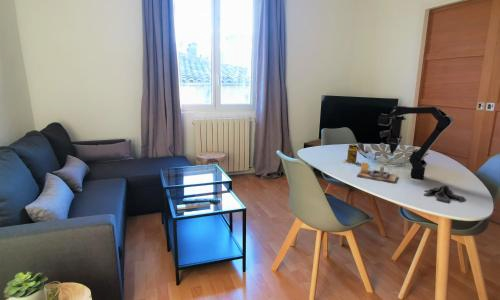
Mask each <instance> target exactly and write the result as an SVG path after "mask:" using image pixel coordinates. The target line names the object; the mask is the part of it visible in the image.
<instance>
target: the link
mask: <svg viewBox="0 0 500 300" xmlns="http://www.w3.org/2000/svg"><path fill="white" fill-rule="evenodd" d="M360 164H361V166H360V171H361V172H362V173H368V174H370V176H374V177H380V178H387V177H388V175H389V174H390V172H387V171H384V174H385V176H384V175H378V174H374V173H379V170H376V169H372V170H371V171H368V170H370V169H369V168H370V163H369V162H365V161H362V162H361V163H360Z"/></svg>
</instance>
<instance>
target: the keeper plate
mask: <svg viewBox="0 0 500 300" xmlns="http://www.w3.org/2000/svg"><path fill="white" fill-rule="evenodd" d="M368 171H372V170H371V169H368ZM378 171H379V173H374V174H378V175H384V176H385V174H384V172H385V167H384V166H383V165H381V166H379V170H378ZM356 177H357V178H363V179H368V180H369V179H370V180H374V181H380V182H385V183H386V182H387V183H391V184H394V183H396V180H397V179H398V174H395V173H389V175H388V177H387V178H380V177H374V176H370V174H368V173H362V172H361V170H359V172H358V173H357V174H356Z"/></svg>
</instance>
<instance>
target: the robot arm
mask: <svg viewBox="0 0 500 300" xmlns="http://www.w3.org/2000/svg"><path fill="white" fill-rule="evenodd" d="M410 114H411V115H412V114H417V115H420V114H430V115H432V117H433V118H434V119H435V120H436V121H437V123H436V125H435V127H434V129H433V131H432V132H431V133H430V135H429V136H428V137H427V139H426V140H425V141H424V143H423V144H422V145H421V146H420V148H418V149H414V150H413V151H412V154H410V155H409V158H408V160H409V162H410V164H411V166H412V167H411V169H410V178H411V179H416V180H417V179H418V180H425V179H424V178H425V173H426V166H427V165H428V162H427V161H426V160H425V158H426V156H427V152H428V151H429V150H430V148H431V147H432V146H433V145H434V143H435V142H436V141H437V140H438V138H439V137H440V136H441V134H442V133H443V132H444V131H445V130H447V129H448V128H449V127H451V125H453V124H454V121H455V120H454V117H453V116H451V115H449V114H447V113H446V112H444V111H443V110H442V109H440V108H439V107H438V106H436V105H435V106H407V105H401V104H399V105H395V106H393V107H392V109H391V111H390V112H389V113H388V114H386V113H385V114H384V113H380V114H379V116H378V119H377V124H378V125H379V126H386V127H389V126H390V128H389V130H381V131H380V132H379V136H380V139H383V138H385V137H388V138H386V144H388V145H389V150H390V154H391V155H392V154H394V153H395V151H396V150H397V148H398V146H399V144H400V143H401V141H402V139H403V135H402V133H401V132H402V125H403V121H406V120H407V118H406V117H405V115H410Z"/></svg>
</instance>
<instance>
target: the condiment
mask: <svg viewBox="0 0 500 300" xmlns="http://www.w3.org/2000/svg"><path fill="white" fill-rule="evenodd" d="M357 156H358V145H357V144H354V143H353V144H352V143H350V144H349V145H348V148H347V156H346V157H347V159H344V160H343V162H342V163H348V164H353V165H354V164H355V165H356V164H357V163H358V160H357Z"/></svg>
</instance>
